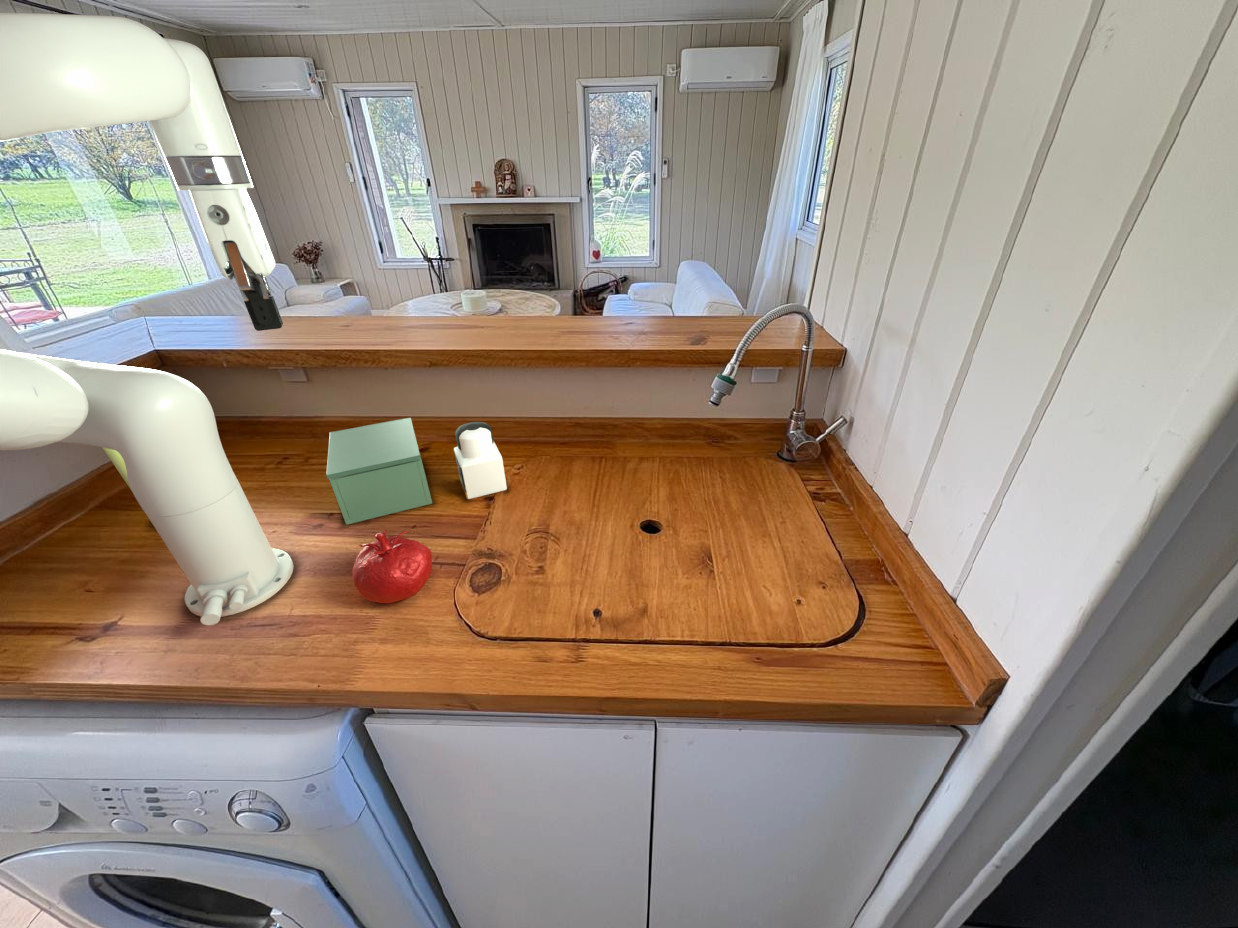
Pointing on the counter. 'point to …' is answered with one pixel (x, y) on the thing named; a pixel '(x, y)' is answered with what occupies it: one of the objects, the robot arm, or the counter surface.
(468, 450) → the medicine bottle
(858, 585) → the counter surface
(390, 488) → the bin
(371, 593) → the pomegranate
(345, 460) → the lid
